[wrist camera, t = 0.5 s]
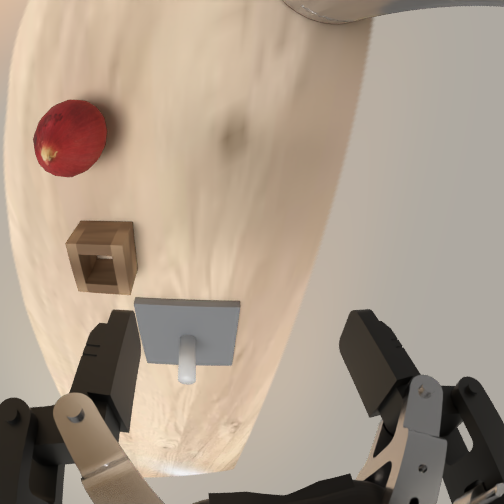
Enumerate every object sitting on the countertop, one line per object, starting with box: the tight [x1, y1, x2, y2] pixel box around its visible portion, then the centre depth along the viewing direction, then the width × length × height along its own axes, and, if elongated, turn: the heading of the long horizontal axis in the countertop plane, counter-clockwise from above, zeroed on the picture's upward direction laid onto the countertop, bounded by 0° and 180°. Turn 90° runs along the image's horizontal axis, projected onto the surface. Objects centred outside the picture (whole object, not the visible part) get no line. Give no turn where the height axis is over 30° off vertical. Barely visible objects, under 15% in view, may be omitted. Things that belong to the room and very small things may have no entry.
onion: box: [33, 100, 107, 177], centre depth 17 cm, size 6×6×8 cm
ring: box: [65, 221, 138, 295], centre depth 25 cm, size 6×6×4 cm
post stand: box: [134, 298, 240, 384], centre depth 33 cm, size 12×12×7 cm
